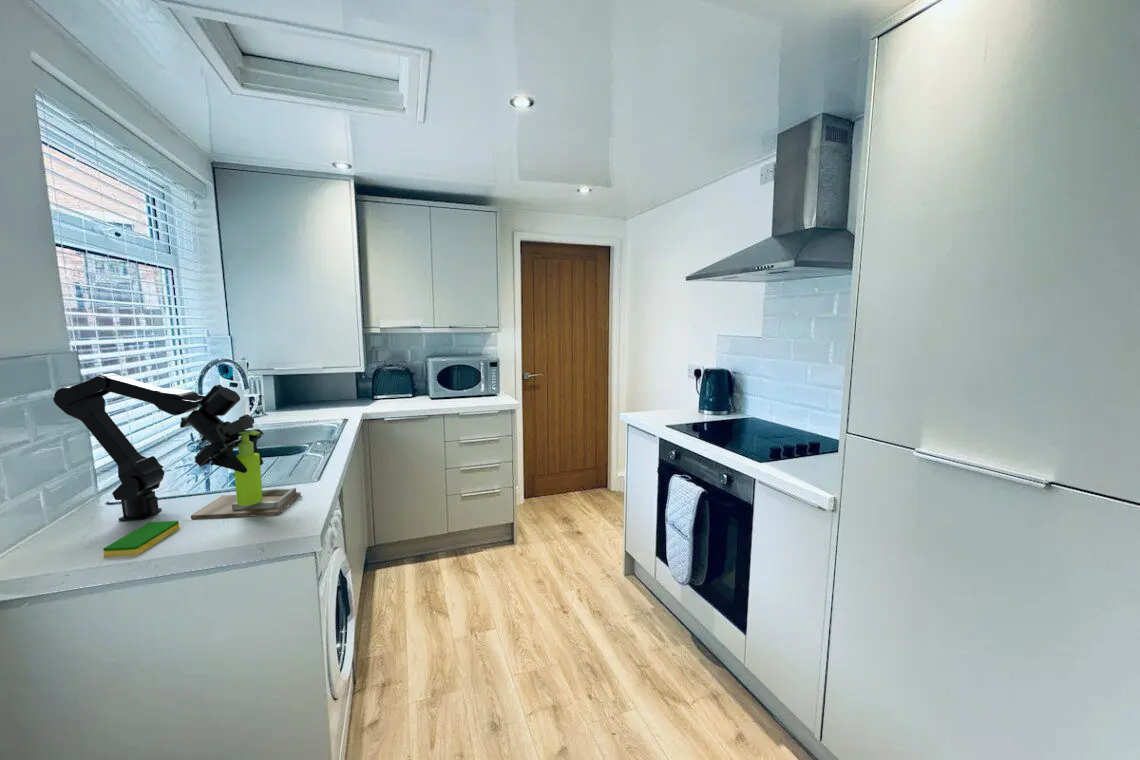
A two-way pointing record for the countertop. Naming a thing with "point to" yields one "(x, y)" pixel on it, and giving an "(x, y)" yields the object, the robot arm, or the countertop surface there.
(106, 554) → the dish sponge
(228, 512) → the walnut holder board
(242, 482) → the soap dispenser
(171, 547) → the countertop surface
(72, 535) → the countertop surface
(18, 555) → the countertop surface
